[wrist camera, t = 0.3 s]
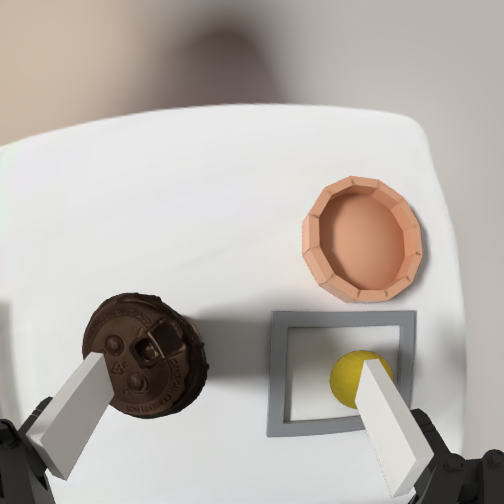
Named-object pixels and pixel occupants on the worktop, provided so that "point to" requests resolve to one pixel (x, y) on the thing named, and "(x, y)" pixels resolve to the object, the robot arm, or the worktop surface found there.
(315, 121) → the worktop surface
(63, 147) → the worktop surface
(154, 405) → the coffee cup
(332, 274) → the bowl
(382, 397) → the robot arm
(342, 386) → the lemon
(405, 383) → the gray rectangular frame
